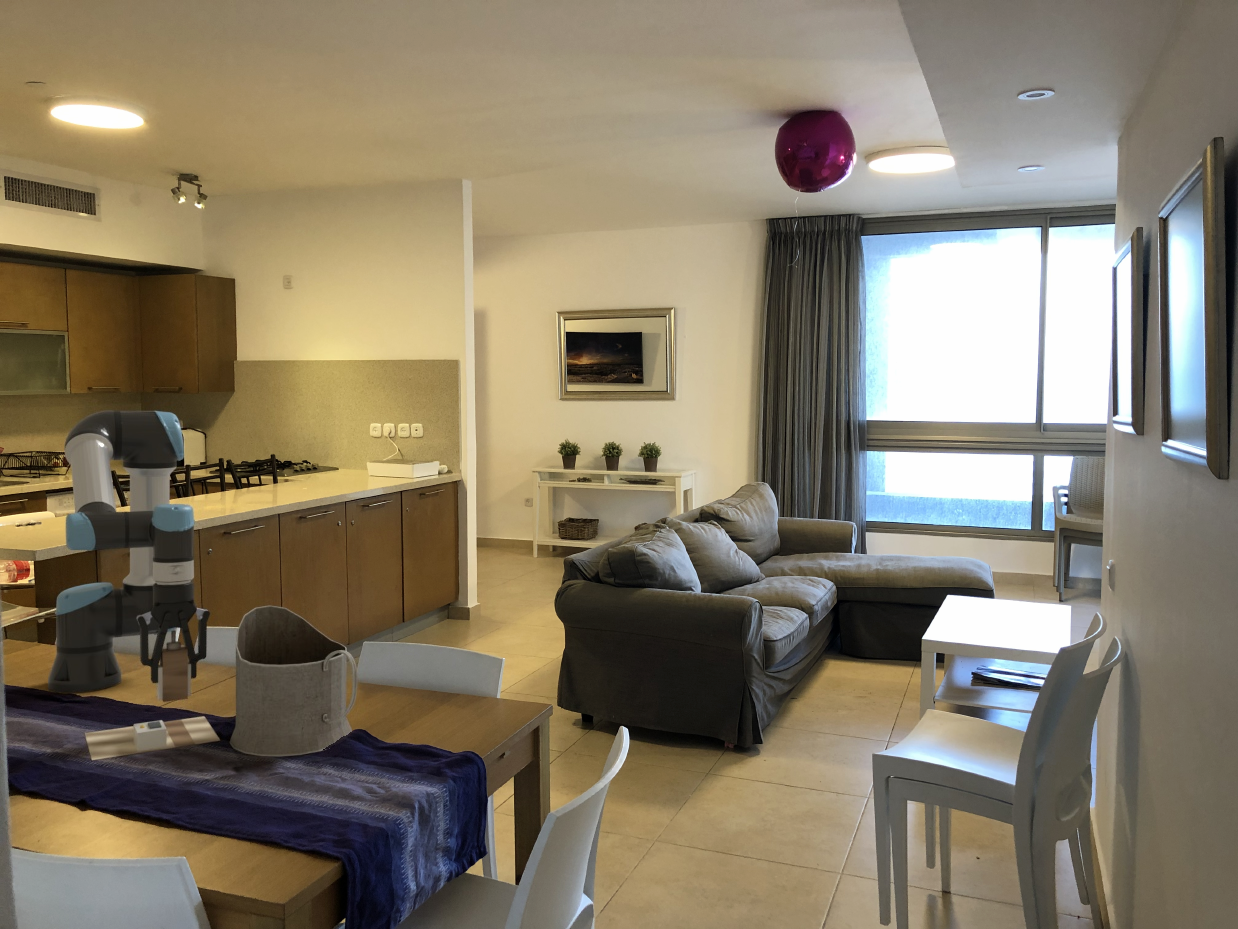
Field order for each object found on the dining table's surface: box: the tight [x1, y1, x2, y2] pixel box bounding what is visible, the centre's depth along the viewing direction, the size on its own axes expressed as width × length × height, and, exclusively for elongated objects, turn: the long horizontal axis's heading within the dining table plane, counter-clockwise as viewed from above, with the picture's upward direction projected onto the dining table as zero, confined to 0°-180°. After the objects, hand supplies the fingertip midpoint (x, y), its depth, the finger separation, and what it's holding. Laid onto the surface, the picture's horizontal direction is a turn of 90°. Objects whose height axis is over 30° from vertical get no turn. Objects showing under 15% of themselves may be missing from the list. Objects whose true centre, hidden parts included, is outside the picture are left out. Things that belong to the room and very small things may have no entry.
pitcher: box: [229, 605, 358, 757], centre depth 192 cm, size 23×32×25 cm
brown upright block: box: [159, 629, 189, 703], centre depth 194 cm, size 4×4×14 cm
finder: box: [133, 719, 167, 751], centre depth 185 cm, size 6×5×4 cm
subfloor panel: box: [84, 716, 221, 761], centre depth 189 cm, size 17×22×1 cm
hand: (173, 696), depth 194 cm, fingers closed on brown upright block, 4 cm apart
